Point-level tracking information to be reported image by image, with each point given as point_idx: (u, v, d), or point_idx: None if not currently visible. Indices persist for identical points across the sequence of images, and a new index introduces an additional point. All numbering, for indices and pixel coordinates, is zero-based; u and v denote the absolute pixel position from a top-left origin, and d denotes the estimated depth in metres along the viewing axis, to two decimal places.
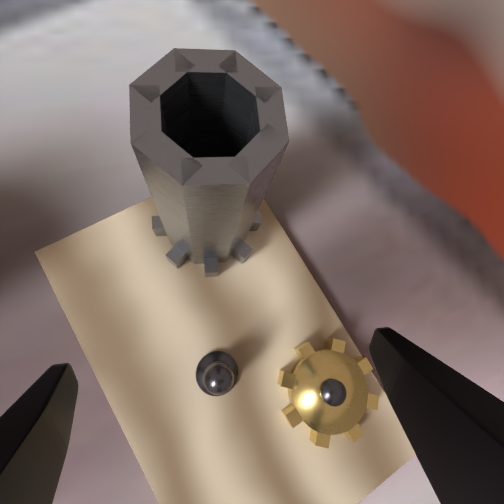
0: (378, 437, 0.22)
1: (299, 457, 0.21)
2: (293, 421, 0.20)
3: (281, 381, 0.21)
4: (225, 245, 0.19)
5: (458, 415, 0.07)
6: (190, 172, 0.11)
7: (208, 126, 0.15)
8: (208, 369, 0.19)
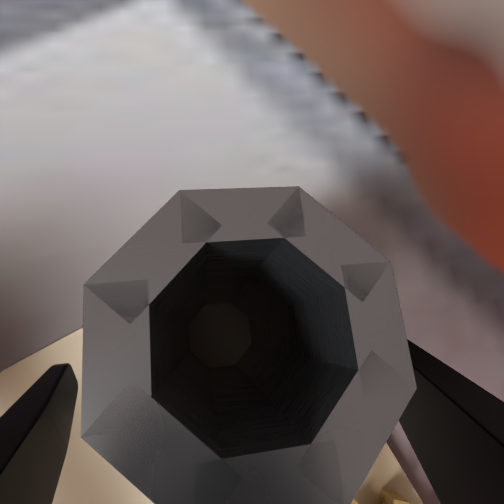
0: None
1: None
2: None
3: None
4: None
5: (458, 415, 0.07)
6: (215, 501, 0.05)
7: (233, 272, 0.09)
8: None
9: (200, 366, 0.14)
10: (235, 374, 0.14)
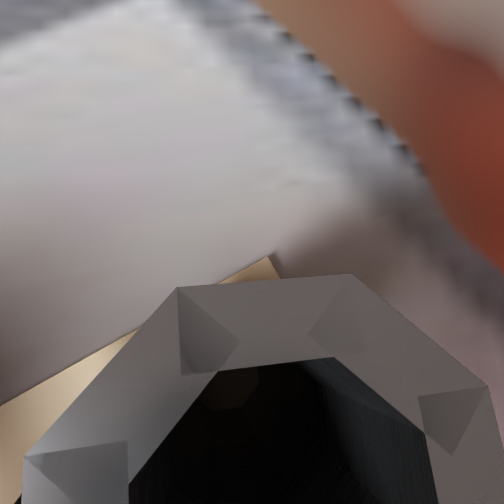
0: None
1: None
2: None
3: None
4: None
5: None
6: None
7: None
8: None
9: (202, 420, 0.13)
10: (243, 433, 0.12)
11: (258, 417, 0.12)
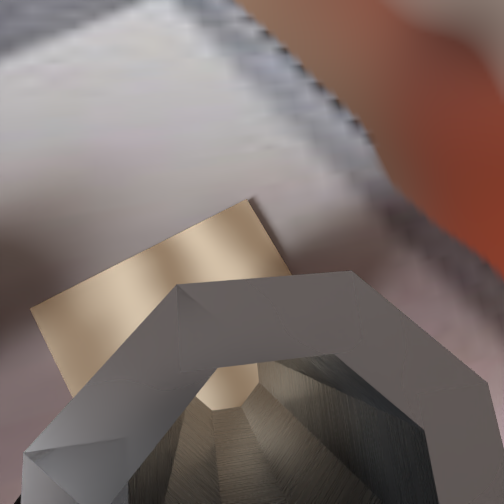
0: None
1: None
2: None
3: None
4: None
5: None
6: None
7: None
8: None
9: (202, 419, 0.13)
10: (243, 432, 0.12)
11: (258, 416, 0.12)
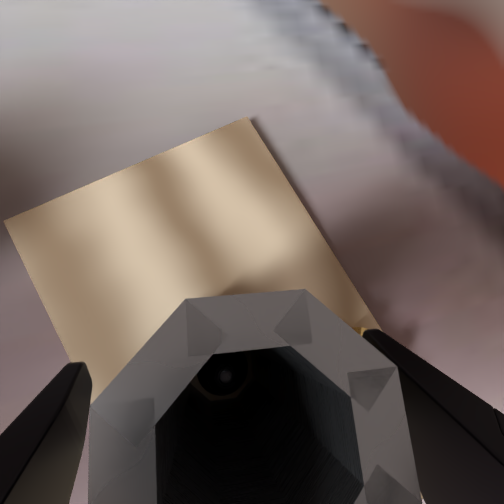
0: None
1: None
2: None
3: None
4: None
5: (443, 417, 0.07)
6: None
7: None
8: (212, 362, 0.15)
9: (202, 407, 0.14)
10: (237, 417, 0.14)
11: (250, 404, 0.14)
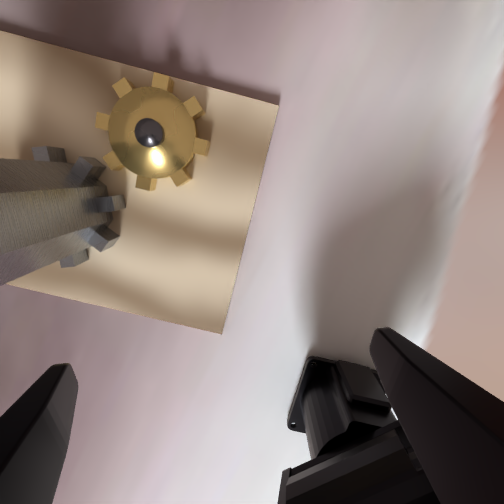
0: (234, 131, 0.20)
1: (185, 205, 0.21)
2: (144, 185, 0.20)
3: None
4: (70, 236, 0.17)
5: (458, 415, 0.07)
6: None
7: None
8: None
9: None
10: None
11: None
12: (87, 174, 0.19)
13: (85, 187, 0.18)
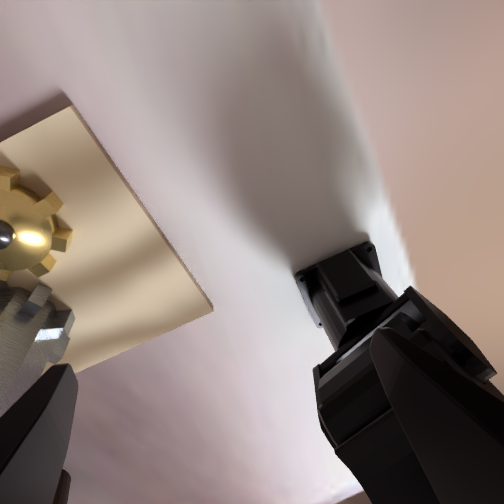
0: (60, 164, 0.17)
1: (90, 252, 0.20)
2: (42, 270, 0.19)
3: (1, 278, 0.19)
4: (25, 363, 0.18)
5: (458, 415, 0.07)
6: None
7: None
8: None
9: None
10: None
11: None
12: None
13: (0, 315, 0.19)
